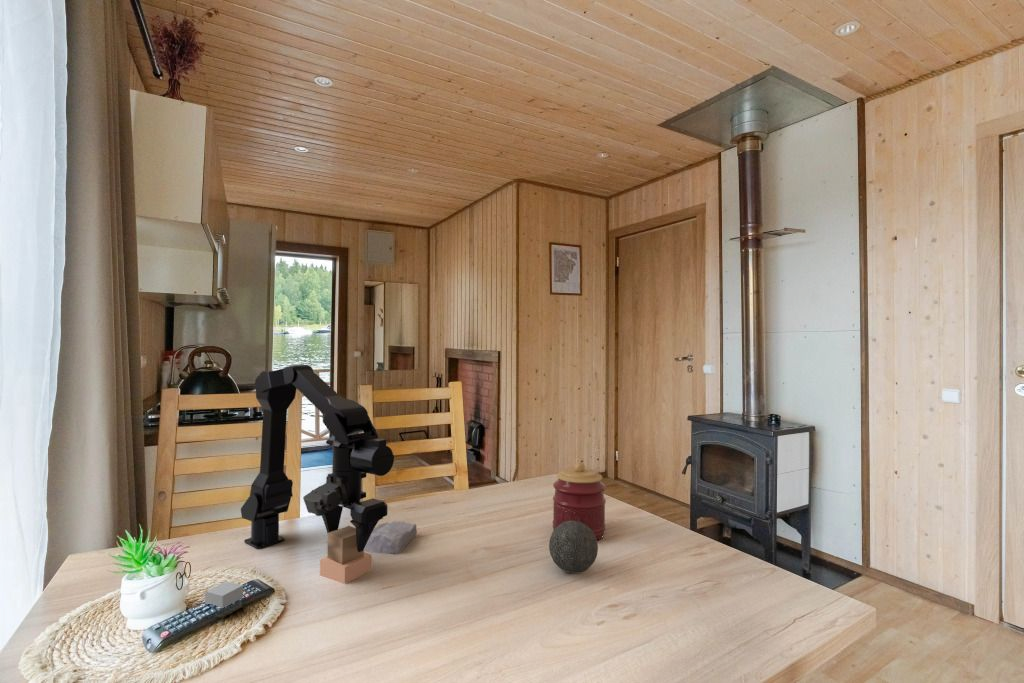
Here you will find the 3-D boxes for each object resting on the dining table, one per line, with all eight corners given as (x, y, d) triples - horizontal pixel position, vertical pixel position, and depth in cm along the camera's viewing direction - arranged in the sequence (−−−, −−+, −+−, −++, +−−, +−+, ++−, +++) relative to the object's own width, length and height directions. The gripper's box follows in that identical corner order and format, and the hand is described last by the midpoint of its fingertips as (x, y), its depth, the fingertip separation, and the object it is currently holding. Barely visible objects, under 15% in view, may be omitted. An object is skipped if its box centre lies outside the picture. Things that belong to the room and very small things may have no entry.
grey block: (204, 615, 84) (205, 591, 84) (225, 603, 88) (226, 581, 88) (222, 620, 83) (222, 595, 83) (242, 608, 87) (243, 585, 87)
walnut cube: (327, 557, 100) (327, 532, 100) (349, 549, 104) (349, 525, 104) (342, 564, 97) (342, 538, 97) (363, 556, 101) (364, 531, 101)
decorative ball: (538, 570, 102) (539, 522, 103) (567, 556, 110) (568, 510, 110) (578, 587, 96) (579, 535, 96) (607, 570, 103) (607, 522, 103)
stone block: (359, 560, 111) (401, 555, 109) (355, 538, 111) (397, 532, 109) (382, 541, 122) (420, 536, 121) (379, 522, 123) (417, 516, 121)
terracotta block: (319, 577, 99) (319, 559, 99) (346, 563, 105) (347, 547, 105) (344, 585, 96) (344, 567, 96) (371, 571, 102) (371, 554, 102)
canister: (613, 530, 125) (614, 460, 125) (592, 547, 114) (593, 471, 115) (566, 520, 132) (567, 453, 132) (543, 535, 121) (543, 463, 122)
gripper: (284, 468, 100) (283, 546, 100) (340, 485, 89) (339, 573, 89) (333, 458, 109) (332, 530, 109) (389, 472, 98) (388, 552, 98)
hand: (346, 545), depth 101 cm, fingers open, 9 cm apart
